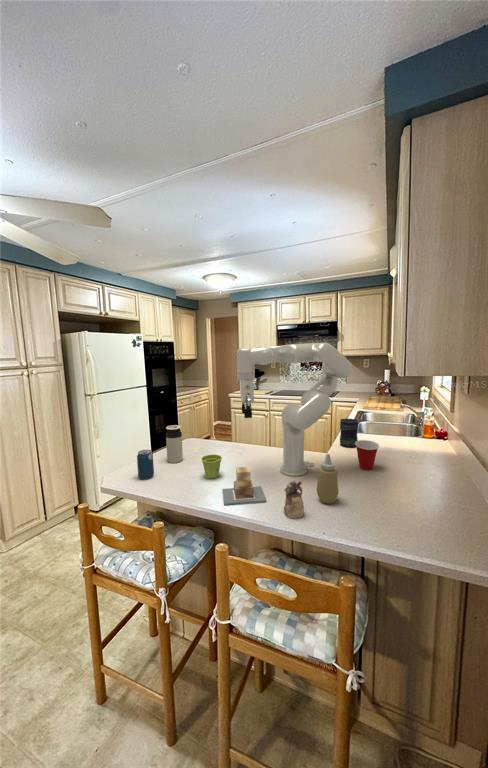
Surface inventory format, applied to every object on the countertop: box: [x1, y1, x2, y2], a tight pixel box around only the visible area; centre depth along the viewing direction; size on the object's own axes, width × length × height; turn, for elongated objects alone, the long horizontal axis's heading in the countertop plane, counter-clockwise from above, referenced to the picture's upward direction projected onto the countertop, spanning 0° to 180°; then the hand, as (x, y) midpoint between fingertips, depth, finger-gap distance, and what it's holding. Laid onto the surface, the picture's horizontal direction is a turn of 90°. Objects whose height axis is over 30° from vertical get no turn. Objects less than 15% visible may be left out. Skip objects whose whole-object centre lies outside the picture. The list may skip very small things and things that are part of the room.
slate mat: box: [222, 485, 267, 506], centre depth 121 cm, size 16×12×1 cm
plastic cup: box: [355, 439, 380, 471], centre depth 146 cm, size 11×11×12 cm
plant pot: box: [200, 454, 223, 480], centre depth 140 cm, size 9×9×9 cm
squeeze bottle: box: [316, 453, 340, 505], centre depth 116 cm, size 8×8×18 cm
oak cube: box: [235, 466, 252, 488], centre depth 120 cm, size 5×5×6 cm
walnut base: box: [233, 480, 254, 499], centre depth 121 cm, size 7×7×4 cm
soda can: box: [136, 449, 155, 480], centre depth 141 cm, size 7×7×12 cm
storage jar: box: [339, 418, 359, 449], centre depth 179 cm, size 10×10×15 cm
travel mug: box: [165, 424, 184, 464], centre depth 160 cm, size 8×8×18 cm
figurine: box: [283, 480, 305, 520], centre depth 108 cm, size 7×7×12 cm
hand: (246, 415), depth 136 cm, fingers open, 9 cm apart
